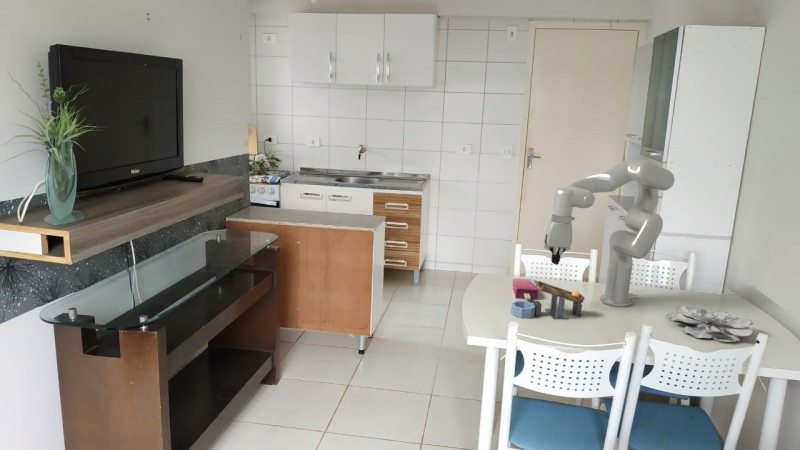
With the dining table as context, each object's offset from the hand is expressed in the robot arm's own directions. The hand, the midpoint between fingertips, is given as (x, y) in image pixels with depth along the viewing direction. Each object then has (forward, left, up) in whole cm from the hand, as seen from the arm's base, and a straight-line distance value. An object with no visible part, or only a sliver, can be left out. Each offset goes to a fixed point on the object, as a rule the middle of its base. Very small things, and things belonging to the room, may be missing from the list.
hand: (555, 263), depth 234 cm
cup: (+14, +6, -20) cm, 25 cm away
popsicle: (+6, -16, -20) cm, 26 cm away
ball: (-7, +6, -11) cm, 15 cm away
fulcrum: (0, +6, -20) cm, 21 cm away
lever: (0, +3, -11) cm, 12 cm away
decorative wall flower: (-57, +19, -20) cm, 64 cm away
